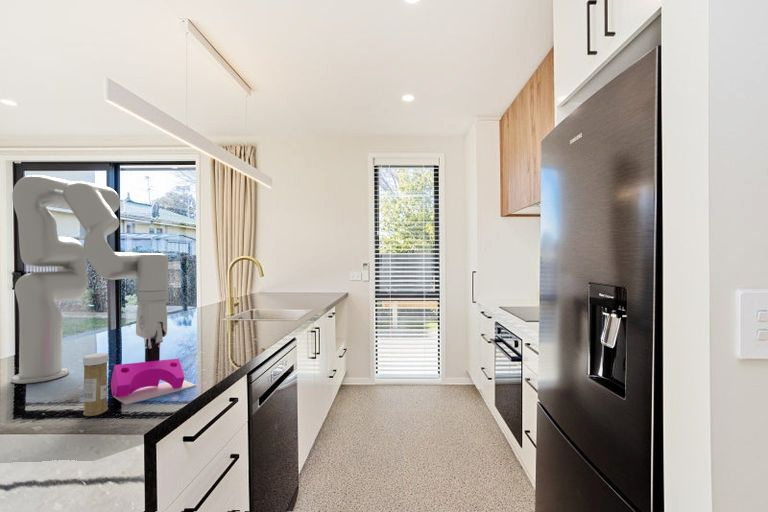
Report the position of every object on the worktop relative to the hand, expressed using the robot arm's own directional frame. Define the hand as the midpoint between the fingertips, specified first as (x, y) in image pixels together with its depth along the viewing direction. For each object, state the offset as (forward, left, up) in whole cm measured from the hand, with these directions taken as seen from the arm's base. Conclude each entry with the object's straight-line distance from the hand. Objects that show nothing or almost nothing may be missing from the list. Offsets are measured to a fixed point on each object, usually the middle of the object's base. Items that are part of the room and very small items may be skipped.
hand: (152, 361), depth 106 cm
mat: (+6, -2, -7) cm, 9 cm away
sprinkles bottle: (+11, -16, -7) cm, 21 cm away
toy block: (+3, -3, -1) cm, 4 cm away
